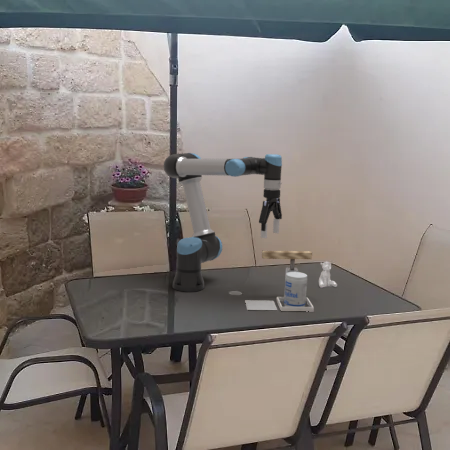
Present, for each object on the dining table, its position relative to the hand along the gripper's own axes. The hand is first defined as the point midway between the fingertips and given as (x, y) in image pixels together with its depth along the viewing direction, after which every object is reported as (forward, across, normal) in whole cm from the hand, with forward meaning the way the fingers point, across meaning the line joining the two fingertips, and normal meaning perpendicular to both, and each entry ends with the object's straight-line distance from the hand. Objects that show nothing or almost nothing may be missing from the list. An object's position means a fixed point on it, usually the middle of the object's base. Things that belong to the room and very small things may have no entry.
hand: (269, 235), depth 274 cm
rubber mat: (+29, -15, -4) cm, 33 cm away
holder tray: (+29, -7, -16) cm, 34 cm away
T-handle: (+15, +1, -8) cm, 17 cm away
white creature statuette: (+29, +33, -17) cm, 47 cm away
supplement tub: (+29, -7, -16) cm, 34 cm away
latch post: (+29, +3, -10) cm, 31 cm away
